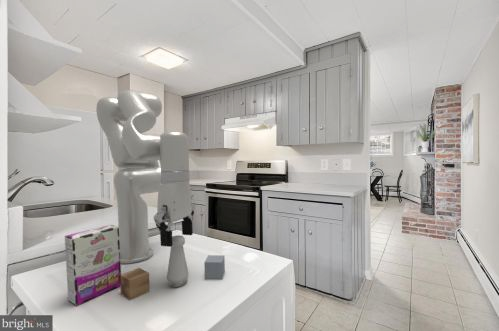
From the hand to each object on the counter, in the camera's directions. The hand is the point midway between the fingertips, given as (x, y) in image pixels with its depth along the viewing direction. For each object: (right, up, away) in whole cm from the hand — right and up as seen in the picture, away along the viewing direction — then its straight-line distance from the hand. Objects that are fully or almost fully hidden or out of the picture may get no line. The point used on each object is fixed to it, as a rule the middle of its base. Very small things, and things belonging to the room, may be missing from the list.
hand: (177, 239), depth 66 cm
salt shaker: (0, -12, +1) cm, 12 cm away
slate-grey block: (+10, -12, +5) cm, 16 cm away
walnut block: (-10, -13, -4) cm, 16 cm away
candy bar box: (-20, -13, -4) cm, 24 cm away
